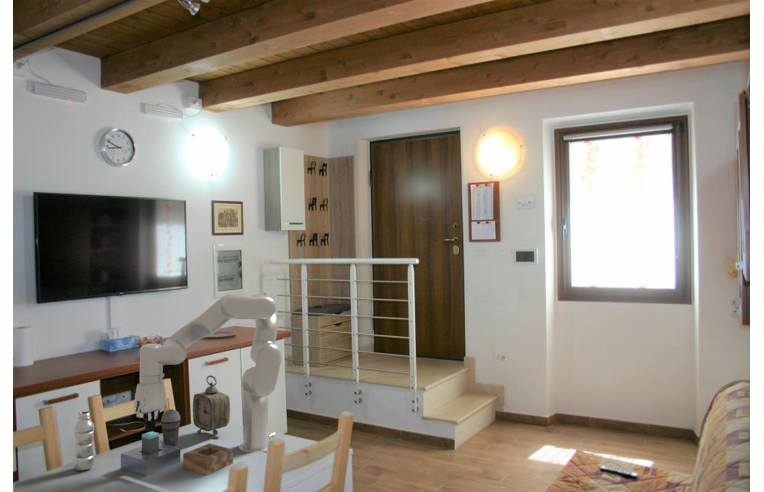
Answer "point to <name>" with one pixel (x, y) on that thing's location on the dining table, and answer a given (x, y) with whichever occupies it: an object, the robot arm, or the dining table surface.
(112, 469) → the dining table surface
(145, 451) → the plug
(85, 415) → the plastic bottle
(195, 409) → the tabletop clock
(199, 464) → the wooden square hole block
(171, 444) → the beverage cup
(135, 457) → the socket block
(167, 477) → the dining table surface
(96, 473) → the dining table surface
